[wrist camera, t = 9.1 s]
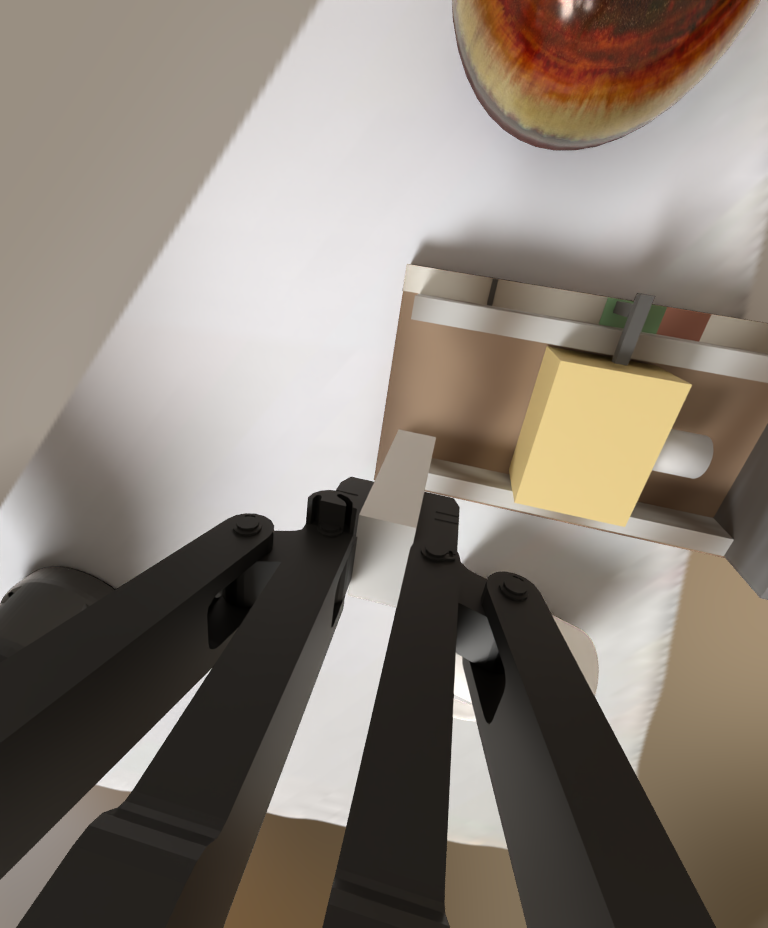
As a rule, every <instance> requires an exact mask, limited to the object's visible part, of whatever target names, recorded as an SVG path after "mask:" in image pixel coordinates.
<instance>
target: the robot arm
mask: <svg viewBox="0 0 768 928" xmlns="http://www.w3.org/2000/svg"><path fill="white" fill-rule="evenodd" d="M435 440H436V437H433V436H428V435H423V434H418V433H413V432H409V431H404V430H398V432H397V434H396V436H395V438H394V441H393V443H392V445H391V447H390V449H389V451H388V454H387V456H386V458H385V460H384V462H383V464H382V466H381V469H380V471H379V473H378V475H377V477H376V479H375V482H373V481H368V480H364V479H359V478H354V477H350V478H348V479H346V480H344V481H342V482H341V483H340V485H339V486H338V488H337V489H336V491H333V490H325V491H319V492H316V493H313V494H312V495H311V496H309V497H308V505H307V517H306V525H305V526H304V528H303V529H302V530H297V531H274V525H273V523H272V521H271V520H270V519H268V518H266V517H265V516H262V515H258V514H240V515H235V516H233V517H231V518H228V519H227V520H225V521H223V522H222V523H220V524H219V525H217V526H216V527H214V528H212V529H211V530H209V531H208V532H206V533H204V534H203V535H201V536H200V537H198V538H197V539H195V540H193V541H192V542H190V543H189V544H187V545H185V546H184V547H182V548H181V549H179V550H178V551H176V552H174V553H173V554H171V555H170V556H168V557H166V558H165V559H163V560H162V561H160V562H159V563H157V564H155V565H154V566H152V567H151V568H149V569H148V570H146V571H144V572H143V573H141V574H140V575H138V576H136V577H135V578H133V579H132V580H130V581H129V582H127V583H125V584H124V585H122V586H121V587H119V588H117V589H116V590H114V589H113V588H112V587H110V586H109V585H107V584H106V583H104V582H102V581H101V580H99V579H97V578H95V577H93V576H91V575H89V574H86V573H84V572H81V571H78V570H74V569H70V568H64V567H47V568H42V569H39V570H37V571H35V572H33V573H32V574H30V575H29V576H27V577H26V578H24V579H23V580H22V581H20V582H19V583H17V584H16V585H14V586H13V587H12V588H11V589H10V590H9V591H8V592H7V593H6V595H5V596H4V597H3V599H2V601H1V603H0V879H1V878H2V877H3V876H4V875H5V874H6V873H7V872H8V871H9V870H10V869H11V868H12V867H13V866H14V865H15V864H16V863H17V862H18V861H19V860H20V859H21V858H22V857H23V856H24V855H25V854H26V853H27V852H28V851H29V850H30V849H31V848H32V847H33V846H34V845H35V844H36V843H37V842H38V841H39V840H40V839H41V838H42V837H43V836H44V835H45V834H46V833H47V832H48V831H49V830H50V829H51V828H52V827H53V826H54V825H55V824H56V823H57V822H58V821H59V820H60V819H61V818H62V817H63V816H64V815H65V814H66V813H67V812H68V811H69V810H70V809H71V808H72V807H73V806H74V805H75V804H76V803H77V802H78V801H79V800H80V799H81V798H82V797H83V796H84V795H85V794H86V793H87V792H88V791H89V790H90V789H91V788H92V787H93V786H94V785H95V784H96V783H97V782H98V781H99V780H100V779H101V778H102V777H103V776H104V775H105V774H106V773H107V772H108V771H109V770H110V769H111V768H112V767H113V766H114V765H115V764H116V763H117V762H118V761H119V760H120V759H121V758H122V757H123V756H124V755H125V754H126V753H127V752H128V751H129V750H130V749H131V748H132V747H133V746H134V745H135V744H136V743H137V742H138V741H139V740H140V739H141V738H142V737H143V736H144V735H145V734H146V733H147V732H148V731H149V730H150V729H151V728H152V727H153V726H154V725H155V724H156V723H157V722H158V721H159V720H160V719H161V718H162V717H163V716H164V715H165V714H166V713H167V712H168V711H169V710H170V709H171V708H172V707H173V706H174V705H175V704H176V703H177V702H178V701H179V700H180V699H181V698H182V697H183V696H184V695H185V694H186V693H187V692H188V691H189V690H190V689H191V688H192V687H193V686H194V685H195V684H196V683H197V682H198V681H199V680H200V679H201V678H202V677H203V676H204V675H205V674H206V673H207V672H208V671H209V670H210V669H211V668H212V667H213V668H212V669H211V671H210V672H209V674H208V675H207V677H206V678H205V680H204V682H203V683H202V685H201V686H200V688H199V689H198V691H197V692H196V694H195V695H194V697H193V698H192V700H191V702H190V703H189V705H188V706H187V708H186V709H185V711H184V712H183V714H182V715H181V717H180V718H179V720H178V722H177V723H176V725H175V726H174V728H173V729H172V731H171V732H170V734H169V735H168V737H167V738H166V740H165V742H164V743H163V745H162V746H161V748H160V749H159V751H158V752H157V754H156V755H155V757H154V758H153V760H152V762H151V763H150V765H149V766H148V768H147V769H146V771H145V772H144V774H143V775H142V777H141V779H140V780H139V782H138V783H137V785H136V786H135V788H134V789H133V791H132V792H131V793H130V795H129V796H128V797H127V799H126V800H125V801H124V802H123V803H122V804H121V805H120V806H119V807H118V808H115V809H112V810H109V811H107V812H104V813H102V814H101V815H100V816H99V817H98V818H96V819H95V820H94V821H93V822H92V823H91V824H90V825H89V826H88V827H87V828H86V829H85V831H84V832H83V833H82V835H81V836H80V837H79V838H78V840H77V841H76V842H75V844H74V845H73V846H72V848H71V849H70V851H69V852H68V853H67V855H66V856H65V858H64V859H63V861H62V862H61V864H60V865H59V866H58V868H57V869H56V871H55V872H54V874H53V875H52V877H51V878H50V879H49V881H48V882H47V884H46V885H45V887H44V888H43V890H42V891H41V892H40V894H39V895H38V897H37V898H36V900H35V901H34V903H33V904H32V906H31V907H30V909H29V910H28V911H27V913H26V914H25V916H24V917H23V919H22V920H21V921H20V923H19V924H18V926H17V927H16V928H223V927H224V924H225V921H226V918H227V915H228V913H229V910H230V907H231V905H232V902H233V899H234V897H235V894H236V891H237V889H238V886H239V883H240V881H241V878H242V875H243V873H244V870H245V868H246V865H247V862H248V860H249V857H250V854H251V852H252V849H253V846H254V844H255V841H256V838H257V835H258V833H259V830H260V828H261V825H262V822H263V819H264V817H265V814H266V812H267V809H268V807H269V804H270V801H271V799H272V796H273V793H274V791H275V788H276V785H277V783H278V780H279V777H280V775H281V772H282V769H283V767H284V764H285V762H286V759H287V756H288V754H289V751H290V748H291V746H292V743H293V740H294V738H295V735H296V732H297V730H298V727H299V724H300V722H301V719H302V716H303V714H304V711H305V709H306V706H307V703H308V701H309V698H310V695H311V693H312V690H313V687H314V685H315V682H316V679H317V677H318V674H319V671H320V669H321V666H322V664H323V661H324V658H325V656H326V653H327V650H328V648H329V645H330V642H331V640H332V637H333V634H334V632H335V629H336V626H337V624H338V621H339V618H340V616H341V613H342V611H343V606H344V599H345V594H346V591H347V589H348V586H349V589H348V596H352V597H356V598H360V599H364V600H368V601H372V602H376V603H380V604H384V605H388V606H392V607H396V612H395V616H394V621H393V625H392V630H391V634H390V638H389V643H388V647H387V651H386V656H385V660H384V664H383V669H382V673H381V678H380V682H379V686H378V691H377V695H376V699H375V704H374V708H373V712H372V717H371V721H370V726H369V730H368V734H367V739H366V743H365V747H364V752H363V756H362V760H361V765H360V769H359V774H358V778H357V782H356V787H355V791H354V795H353V800H352V804H351V808H350V813H349V817H348V822H347V826H346V830H345V835H344V839H343V843H342V848H341V852H340V856H339V861H338V865H337V870H336V874H335V878H334V882H333V885H332V890H331V893H330V898H329V902H328V906H327V911H326V915H325V919H324V924H323V928H450V926H449V923H448V920H447V917H446V915H445V905H444V900H445V872H446V851H447V830H448V809H449V787H450V766H451V745H452V724H453V703H454V681H455V660H456V654H458V655H460V656H462V665H463V669H464V673H465V677H466V681H467V685H468V689H469V693H470V697H471V701H472V705H473V710H474V714H475V718H476V722H477V726H478V730H479V734H480V738H481V742H482V746H483V750H484V754H485V758H486V762H487V766H488V770H489V774H490V779H491V783H492V787H493V791H494V795H495V799H496V803H497V807H498V811H499V815H500V819H501V823H502V827H503V831H504V835H505V839H506V844H507V848H508V851H509V856H510V860H511V864H512V868H513V872H514V876H515V880H516V884H517V888H518V892H519V896H520V900H521V904H522V908H523V913H524V917H525V920H526V925H527V928H716V926H715V924H714V923H713V921H712V919H711V917H710V915H709V913H708V911H707V909H706V907H705V906H704V904H703V902H702V900H701V898H700V896H699V894H698V892H697V890H696V888H695V886H694V884H693V883H692V881H691V879H690V877H689V875H688V873H687V871H686V869H685V867H684V865H683V864H682V862H681V860H680V858H679V856H678V854H677V852H676V850H675V848H674V846H673V845H672V843H671V841H670V839H669V837H668V835H667V833H666V831H665V829H664V827H663V826H662V824H661V822H660V820H659V818H658V816H657V815H656V812H655V810H654V808H653V806H652V805H651V803H650V801H649V799H648V797H647V795H646V793H645V791H644V789H643V787H642V786H641V784H640V782H639V780H638V778H637V776H636V774H635V772H634V770H633V768H632V767H631V765H630V763H629V761H628V759H627V757H626V755H625V753H624V751H623V749H622V748H621V746H620V744H619V742H618V740H617V738H616V736H615V734H614V732H613V730H612V729H611V727H610V725H609V723H608V721H607V719H606V717H605V715H604V713H603V711H602V709H601V708H600V706H599V704H598V702H597V700H596V698H595V696H594V694H593V692H592V690H591V689H590V687H589V685H588V683H587V681H586V679H585V677H584V675H583V673H582V671H581V670H580V668H579V666H578V664H577V662H576V660H575V658H574V656H573V654H572V652H571V651H570V649H569V647H568V645H567V643H566V641H565V639H564V637H563V635H562V633H561V631H560V630H559V628H558V626H557V624H556V622H555V620H554V618H553V616H552V614H551V612H550V611H549V609H548V607H547V605H546V603H545V601H544V599H543V597H542V595H541V593H540V592H539V590H538V589H537V588H536V587H535V585H534V584H532V583H531V582H530V581H528V580H527V579H526V578H524V577H521V576H519V575H517V574H514V573H509V572H496V573H494V574H492V575H490V576H489V577H488V579H485V578H483V577H481V576H479V575H477V574H475V573H473V572H471V571H470V570H468V569H467V568H466V567H465V566H464V565H463V564H462V563H461V562H460V557H459V553H458V552H457V544H458V524H459V506H458V504H457V503H456V501H455V500H454V498H450V497H445V496H441V495H436V494H432V493H427V492H424V491H425V486H426V482H427V477H428V473H429V468H430V463H431V459H432V454H433V449H434V445H435Z"/></svg>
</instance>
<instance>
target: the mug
mask: <svg viewBox="0 0 768 928" xmlns="http://www.w3.org/2000/svg"><path fill="white" fill-rule="evenodd" d="M552 616H553V618H554V620H555V622H556V624H557V626H558V628H559V630H560V631H561V633H562V635H563V637H564V639H565V641H566V643H567V645H568V647H569V649H570V651H571V652H572V654H573V656H574V658H575V660H576V662H577V664H578V666H579V668H580V670H581V671H582V673H583V675H584V677H585V679H586V681H587V683H588V685H589V687H590V689H591V690H592V692H593V694H594V696H595V693H596V689H597V684H598V673H599V667H598V657H597V653H596V649H595V646H594V644H593V642H592V640H591V639H590V637H589V636H588V635H587V634H586V633H585V632H584V631H583V630H581V629H579V628H577V627H575V626H573V625H571V624H569V623H567V622H565V621H563V620H561V619H559V618H558V617H556V616H554V615H552ZM454 694H455V695H457V696H459V697H461V698H463V699H465V700H467V701H469V702H471V703H472V701H471V697H470V693H469V689H468V685H467V681H466V677H465V673H464V669H463V665H462V656H460V655H458V654H456V660H455V681H454ZM453 717H454V718H457V719H462V720H468V721H476V718H475V714H474V710H473V705H472V704H469V703H465V702H462V701H460V700H457V699H455V698H454V703H453Z"/></svg>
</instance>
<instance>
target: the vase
mask: <svg viewBox="0 0 768 928" xmlns="http://www.w3.org/2000/svg"><path fill="white" fill-rule="evenodd" d="M760 1H761V0H452V12H453V23H454V29H455V34H456V40H457V46H458V51H459V54H460V57H461V61H462V64H463V67H464V70H465V73H466V76H467V78H468V80H469V83H470V85H471V87H472V89H473V91H474V93H475V95H476V97H477V99H478V100H479V102H480V103H481V104H482V106H483V107H484V109H485V110H486V112H487V113H488V114H489V116H490V117H491V118H492V119H493V120H494V121H495V122H496V123H497V124H498V125H499V126H500V127H501V128H502V129H503V130H505V131H506V132H508V133H509V134H511V135H512V136H514V137H516V138H517V139H519V140H521V141H523V142H525V143H528V144H530V145H533V146H535V147H540V148H545V149H550V150H579V149H585V148H590V147H596V146H599V145H602V144H605V143H608V142H611V141H614V140H616V139H619V138H622V137H624V136H626V135H627V134H629V133H631V132H633V131H635V130H637V129H639V128H641V127H643V126H645V125H646V124H648V123H649V122H651V121H652V120H654V119H655V118H656V117H658V116H659V115H661V114H662V113H664V112H665V111H666V110H668V109H669V108H671V107H672V106H673V105H674V104H675V103H677V102H678V101H679V100H680V99H681V98H682V97H683V96H684V95H685V94H687V93H688V92H689V91H690V90H691V89H692V88H693V87H694V86H695V85H696V84H698V83H699V82H700V81H701V80H702V78H703V77H704V76H705V75H706V74H707V73H708V72H709V71H710V69H711V68H712V67H713V66H714V65H715V64H716V63H717V61H718V60H719V59H720V58H721V57H722V56H723V55H724V54H725V52H726V51H727V50H728V49H729V47H730V46H731V45H732V43H733V42H734V40H735V39H736V37H737V36H738V35H739V33H740V32H741V30H742V29H743V28H744V26H745V25H746V23H747V22H748V21H749V19H750V18H751V16H752V15H753V13H754V12H755V10H756V8H757V6H758V5H759V3H760Z"/></svg>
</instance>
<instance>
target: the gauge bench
mask: <svg viewBox="0 0 768 928" xmlns="http://www.w3.org/2000/svg"><path fill="white" fill-rule="evenodd" d="M617 301H620V302H627V303H632V304H633V302H634V301H630V300H624V299H618V298H612V297H606V296H600V295H593V294H587V293H581V292H575V291H569V290H563V289H557V288H551V287H545V286H539V285H533V284H527V283H521V282H514V281H508V280H502V279H496V278H490V277H484V276H478V275H472V274H466V273H460V272H454V271H448V270H441V269H435V268H429V267H423V266H417V265H411V264H407V266H406V272H405V279H404V285H403V295H402V301H401V308H400V314H399V321H398V327H397V334H396V340H395V347H394V353H393V360H392V366H391V373H390V379H389V386H388V392H387V399H386V405H385V412H384V418H383V425H382V431H381V437H380V444H379V450H378V457H377V463H376V470H375V476H374V480H375V479H376V477H377V475H378V473H379V471H380V469H381V466H382V464H383V462H384V460H385V458H386V456H387V454H388V451H389V449H390V447H391V445H392V443H393V441H394V438H395V436H396V434H397V432H398V430H404V431H409V432H413V433H418V434H423V435H428V436H433V437H436V440H435V445H434V449H433V454H432V459H431V463H430V468H429V473H428V477H427V482H426V486H425V491H426V492H430V493H435V494H439V495H444V496H448V497H453V498H457V499H462V500H466V501H471V502H475V503H480V504H484V505H489V506H493V507H498V508H502V509H507V510H511V511H516V512H520V513H525V514H529V515H534V516H538V517H543V518H547V519H552V520H556V521H561V522H565V523H570V524H574V525H579V526H583V527H588V528H592V529H597V530H601V531H606V532H610V533H615V534H619V535H624V536H628V537H633V538H637V539H642V540H646V541H651V542H655V543H660V544H664V545H669V546H673V547H678V548H682V549H687V550H691V551H696V552H700V553H705V554H709V555H714V556H718V557H723V558H726V559H727V560H728V561H729V563H730V564H731V565H732V566H733V567H734V568H735V569H736V571H737V572H738V573H739V574H740V575H741V576H742V578H743V579H744V580H745V581H746V582H747V583H748V584H749V586H750V587H751V588H752V589H753V590H754V591H755V593H756V594H757V595H758V596H759V597H760V598H762V599H766V600H768V323H764V322H758V321H751V320H745V319H739V318H733V317H727V316H721V315H715V314H709V313H703V312H697V311H691V310H685V309H679V308H672V307H666V306H660V305H654V304H652V305H651V308H650V310H649V313H648V315H647V318H646V320H645V323H644V325H643V328H642V331H641V333H640V336H639V338H638V341H637V343H636V346H635V348H634V351H633V353H632V356H631V358H630V361H633V362H639V363H644V364H650V365H655V366H658V367H660V368H662V369H664V370H665V371H667V372H669V373H671V374H673V375H675V376H677V377H679V378H680V379H682V380H684V381H686V382H688V383H690V384H692V386H691V388H690V391H689V393H688V395H687V397H686V399H685V401H684V403H683V405H682V408H681V410H680V412H679V414H678V416H677V418H676V420H675V422H674V424H673V427H672V429H675V430H680V431H685V432H690V433H695V434H701V435H706V436H708V437H709V438H710V439H711V440H712V443H713V457H712V460H711V463H710V465H709V467H708V469H707V470H706V471H705V473H704V474H703V475H701V476H700V477H698V478H695V479H692V478H687V477H682V476H677V475H672V474H668V473H663V472H658V471H653V470H652V471H651V473H650V475H649V477H648V480H647V482H646V484H645V486H644V488H643V490H642V492H641V494H640V497H639V499H638V501H637V503H636V505H635V507H634V509H633V511H632V513H631V516H630V518H629V520H628V522H627V524H626V526H625V527H622V526H618V525H613V524H608V523H604V522H599V521H595V520H590V519H586V518H581V517H577V516H572V515H568V514H563V513H559V512H554V511H549V510H545V509H540V508H536V507H531V506H527V505H522V504H518V503H514V498H513V492H512V486H511V480H510V474H509V467H510V464H511V461H512V458H513V454H514V451H515V448H516V445H517V441H518V438H519V435H520V432H521V428H522V425H523V422H524V419H525V415H526V412H527V409H528V406H529V402H530V399H531V396H532V393H533V389H534V386H535V383H536V380H537V376H538V373H539V370H540V367H541V363H542V360H543V357H544V354H545V350H546V347H547V346H550V347H555V348H561V349H566V350H572V351H577V352H583V353H589V354H594V355H600V356H605V357H611V358H613V355H614V353H615V350H616V347H617V345H618V342H619V340H620V337H621V334H622V332H623V329H624V326H625V324H626V321H627V318H628V317H624V316H621V315H618V314H615V313H613V311H614V308H615V305H616V302H617Z"/></svg>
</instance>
